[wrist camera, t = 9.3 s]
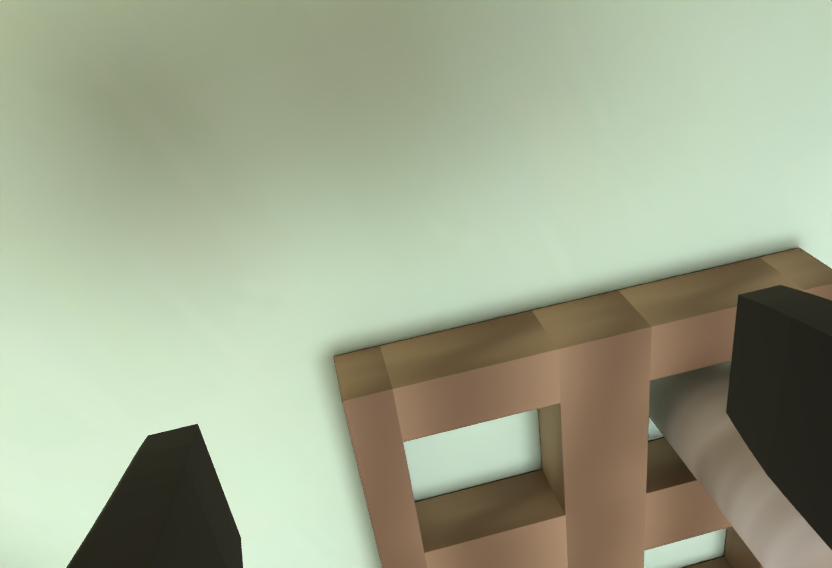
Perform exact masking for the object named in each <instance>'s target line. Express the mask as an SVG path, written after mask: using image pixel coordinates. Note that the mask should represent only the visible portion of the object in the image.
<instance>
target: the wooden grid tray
mask: <svg viewBox="0 0 832 568" xmlns="http://www.w3.org/2000/svg"><path fill="white" fill-rule="evenodd" d="M777 285H783V286H787V287H790V288H794V289H797V290H801V291H804V292H807V293H811V294H814V295H817V296H820V297H823V298H826V299H829V300H832V269H831V268H830V267H828V266H827V265H825V264H824V263H822V262H820V261H819V260H817V259H816V258H814V257H813V256H811V255H810V254H808V253H807V252H805V251H804V250H802V249H801V248H797V249H793V250H788V251H784V252H780V253H775V254H771V255H767V256H763V257H758V258H754V259H750V260H745V261H741V262H737V263H733V264H728V265H724V266H720V267H715V268H711V269H707V270H703V271H698V272H694V273H690V274H685V275H681V276H677V277H673V278H668V279H664V280H660V281H655V282H651V283H647V284H643V285H638V286H634V287H630V288H626V289H621V290H617V291H613V292H608V293H604V294H600V295H596V296H591V297H587V298H583V299H578V300H574V301H570V302H566V303H561V304H557V305H553V306H548V307H544V308H540V309H536V310H531V311H527V312H523V313H518V314H514V315H510V316H506V317H501V318H497V319H493V320H488V321H484V322H480V323H476V324H471V325H467V326H463V327H458V328H454V329H450V330H446V331H441V332H437V333H433V334H428V335H424V336H420V337H416V338H411V339H407V340H403V341H398V342H394V343H390V344H386V345H381V346H377V347H373V348H368V349H364V350H360V351H356V352H351V353H347V354H343V355H338V356H334V361H335V367H336V372H337V377H338V382H339V388H340V393H341V398H342V403H343V407H344V411H345V415H346V419H347V424H348V428H349V432H350V436H351V440H352V444H353V448H354V453H355V457H356V461H357V465H358V469H359V473H360V477H361V482H362V486H363V490H364V494H365V498H366V502H367V506H368V511H369V515H370V519H371V523H372V527H373V531H374V535H375V540H376V544H377V548H378V552H379V556H380V560H381V564H382V568H644V550H648V549H652V548H655V547H659V546H663V545H666V544H670V543H673V542H677V541H681V540H684V539H688V538H691V537H695V536H699V535H702V534H706V533H710V532H713V531H717V530H720V529H724V528H727V536H726V544H725V553H724V557H721V558H717V559H713V560H710V561H706V562H703V563H699V564H696V565H692V566H688V567H685V568H832V550H831V549H830V548H829V547H828V546H827V544H826V543H825V542H824V541H823V540H822V539H821V538H820V536H819V535H818V534H817V533H816V532H815V531H814V530H813V528H812V527H811V526H810V525H809V524H808V523H807V522H806V520H805V519H804V518H803V517H802V516H801V515H800V513H799V512H798V511H797V510H796V509H795V508H794V506H793V505H792V504H791V503H790V502H789V501H788V499H787V498H786V497H785V496H784V495H783V494H782V492H781V491H780V490H779V489H778V488H777V486H776V485H775V484H774V483H773V482H772V480H771V479H770V478H769V477H768V476H767V474H766V473H765V471H764V470H763V468H762V467H761V466H760V464H759V463H758V461H757V460H756V458H755V457H754V455H753V454H752V452H751V451H750V450H749V448H748V447H747V445H746V443H745V442H744V440H743V439H742V437H741V436H740V434H739V432H738V431H737V429H736V428H735V426H734V424H733V423H732V421H731V420H730V418H729V417H728V415H727V413H726V407H727V397H728V388H729V378H730V368H731V359H732V349H733V340H734V330H735V320H736V311H737V301H738V295H739V294H744V293H748V292H752V291H756V290H760V289H765V288H769V287H773V286H777ZM534 409H538V413H539V428H540V443H541V458H542V470H538V471H534V472H530V473H526V474H523V475H519V476H515V477H511V478H507V479H503V480H499V481H495V482H492V483H488V484H484V485H480V486H476V487H472V488H468V489H465V490H461V491H457V492H453V493H449V494H445V495H441V496H438V497H434V498H430V499H426V500H422V501H418V502H414V497H413V492H412V486H411V481H410V476H409V471H408V466H407V461H406V455H405V450H404V445H403V442H406V441H410V440H414V439H418V438H422V437H426V436H430V435H434V434H438V433H442V432H446V431H450V430H454V429H458V428H462V427H466V426H470V425H474V424H478V423H482V422H486V421H490V420H494V419H498V418H502V417H506V416H510V415H514V414H518V413H522V412H526V411H530V410H534ZM649 417H650V418H651V420H652V421H653V422H654V424H655V425H656V426H657V428H658V429H659V430H660V432H661V433H662V434H663V436H664V437H665V438H662V439H658V440H654V441H650V442H648V423H649Z"/></svg>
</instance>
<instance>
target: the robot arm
mask: <svg viewBox="0 0 832 568" xmlns="http://www.w3.org/2000/svg"><path fill="white" fill-rule="evenodd" d="M726 413H727V415H728V417H729V418H730V420H731V421H732V423H733V424H734V426H735V428H736V429H737V431H738V432H739V434H740V436H741V437H742V439H743V440H744V442H745V443H746V445H747V447H748V448H749V450H750V451H751V452H752V454H753V455H754V457H755V458H756V460H757V461H758V463H759V464H760V466H761V467H762V468H763V470H764V471H765V473H766V474H767V476H768V477H769V478H770V479H771V480H772V482H773V483H774V484H775V485H776V486H777V488H778V489H779V490H780V491H781V492H782V494H783V495H784V496H785V497H786V498H787V499H788V501H789V502H790V503H791V504H792V505H793V506H794V508H795V509H796V510H797V511H798V512H799V513H800V515H801V516H802V517H803V518H804V519H805V520H806V522H807V523H808V524H809V525H810V526H811V527H812V528H813V530H814V531H815V532H816V533H817V534H818V535H819V536H820V538H821V539H822V540H823V541H824V542H825V543H826V544H827V546H828V547H829V548H830V549H831V550H832V300H829V299H826V298H823V297H820V296H817V295H814V294H811V293H807V292H804V291H801V290H797V289H794V288H790V287H787V286H783V285H777V286H773V287H769V288H765V289H760V290H756V291H752V292H748V293H744V294H739V295H738V301H737V311H736V320H735V330H734V340H733V349H732V359H731V368H730V378H729V388H728V397H727V407H726ZM67 568H243V561H242V548H241V537H240V534H239V532H238V529H237V526H236V524H235V521H234V518H233V516H232V513H231V511H230V508H229V505H228V503H227V500H226V497H225V495H224V492H223V489H222V487H221V484H220V482H219V479H218V476H217V474H216V471H215V468H214V466H213V463H212V460H211V458H210V455H209V452H208V450H207V447H206V445H205V442H204V439H203V437H202V434H201V431H200V429H199V426H198V424H195V425H191V426H186V427H182V428H178V429H174V430H170V431H165V432H161V433H157V434H153V435H149V436H147V438H146V439H145V441H144V442H143V443H142V445H141V447H140V448H139V450H138V451H137V453H136V455H135V456H134V458H133V460H132V461H131V463H130V465H129V466H128V468H127V470H126V471H125V473H124V475H123V476H122V478H121V480H120V481H119V483H118V485H117V487H116V488H115V490H114V492H113V493H112V495H111V497H110V498H109V500H108V502H107V503H106V505H105V507H104V508H103V510H102V512H101V513H100V515H99V517H98V518H97V520H96V521H95V523H94V525H93V526H92V528H91V530H90V531H89V533H88V535H87V536H86V538H85V539H84V541H83V542H82V544H81V546H80V547H79V549H78V550H77V552H76V553H75V555H74V557H73V558H72V560H71V561H70V563H69V564H68V566H67Z"/></svg>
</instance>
